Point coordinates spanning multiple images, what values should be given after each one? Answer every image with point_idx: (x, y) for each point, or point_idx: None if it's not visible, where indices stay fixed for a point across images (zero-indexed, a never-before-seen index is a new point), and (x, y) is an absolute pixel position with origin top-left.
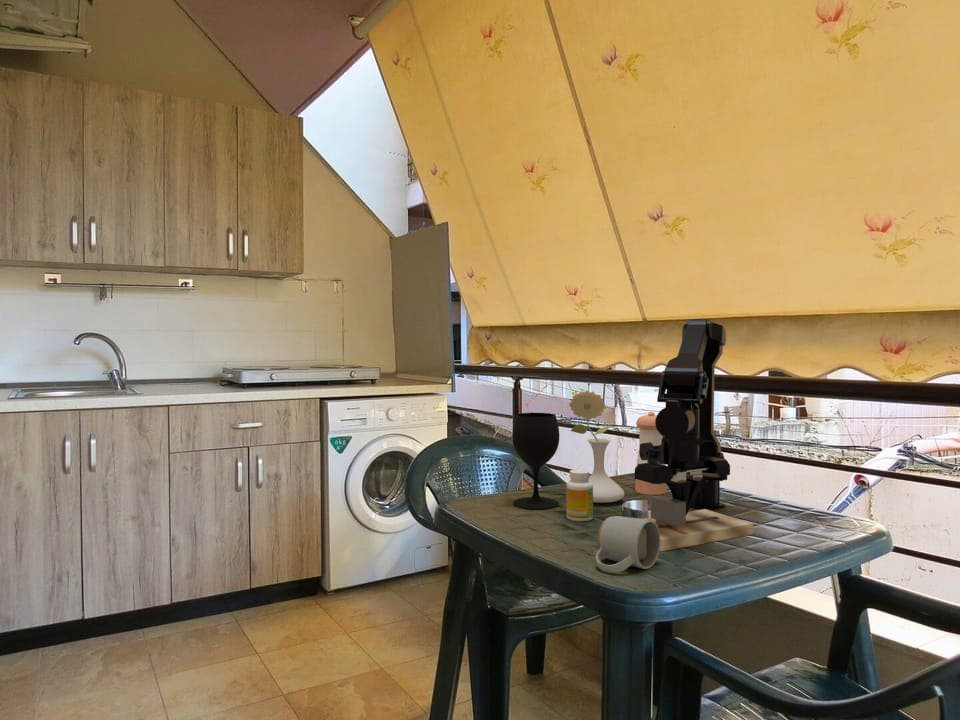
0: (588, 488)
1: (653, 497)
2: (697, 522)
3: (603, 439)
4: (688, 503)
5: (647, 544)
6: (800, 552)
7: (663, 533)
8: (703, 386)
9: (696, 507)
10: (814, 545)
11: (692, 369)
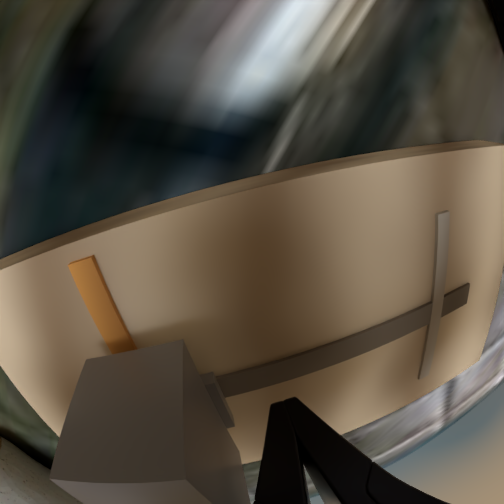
0: None
1: (71, 494)
2: (356, 355)
3: None
4: (316, 488)
5: (61, 496)
6: (417, 438)
7: None
8: None
9: (496, 21)
10: (467, 400)
11: None
